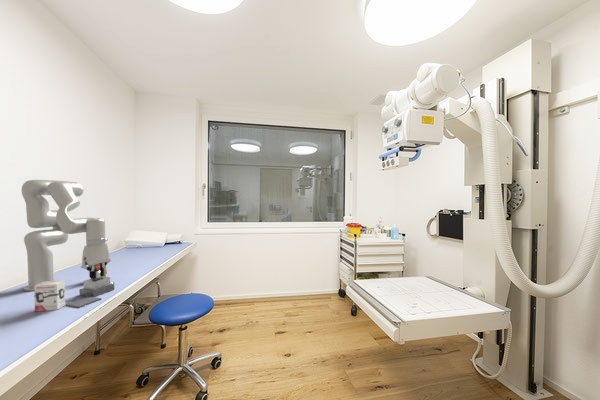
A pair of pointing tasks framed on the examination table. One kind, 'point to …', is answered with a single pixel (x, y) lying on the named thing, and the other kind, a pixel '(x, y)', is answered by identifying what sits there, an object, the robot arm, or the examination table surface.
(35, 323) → the examination table surface
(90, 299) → the mat
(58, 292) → the ink box
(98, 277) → the peg
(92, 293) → the block
